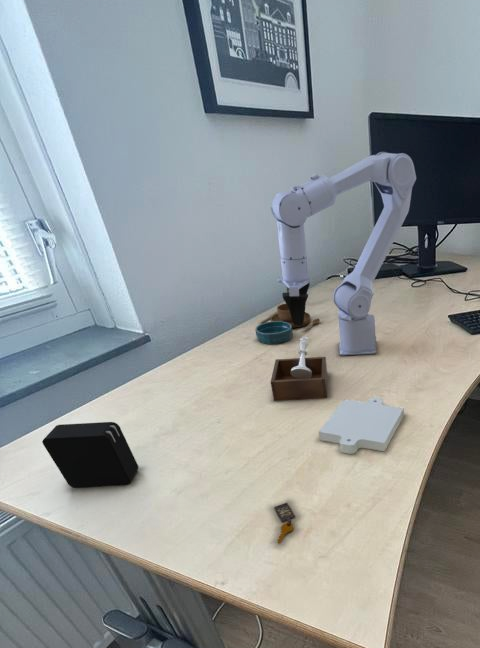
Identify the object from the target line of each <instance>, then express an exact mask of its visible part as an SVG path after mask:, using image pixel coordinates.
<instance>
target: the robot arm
mask: <svg viewBox="0 0 480 648" xmlns="http://www.w3.org/2000/svg"><path fill="white" fill-rule="evenodd" d="M309 177H310V180H307V181H306V182H303V183H301V184H299V185H296V184H293V185H291V186H290V192H288V191H280V192H277V194H276V195H275V196H274V198H273V200H272V203H271V207H270V211H271V213H272V215H273V216H272V217H274V218H275V220H276V225H277V227H276V228H277V239H278V247H279V257H280V266H281V274H282V276H279V277H278V278H277V283H280V284H283V286H285V288H286V290H287V289H288V291H289V293H287V292H282V294H281V295H282V299H283V301H284V302H285V304H287V306H288V308H289V311H290V314H291V318H292V321H293V324H294V325H303V321H304V314H305V312H306V307H307V306H306V304H307V300H308V298H309V294H308V291H309V288H310V284H311V283H310V277H309V271H308V259H307V256H308V255H307V246H306V233H305V222H306V221H307V219H308V218H310V217H311V216H314V215H316V214H317V213H320V212H322V211H324V210H326V209H327V208H330V207H331V206H333V205H334V204H335V203H336V198H337V196H339V195H341V194H343V193H345V192H347V191H350V190H352V189H355V188H357V187H359V186H361V185H363V184H365V183H368V182H372V183H374V185H375V186H376V188H377V190H378V192H379V194H380V196H381V199H382V203H383V209H382V211H381V212H380V215H379V217H378V219H377V221H376V223H375V225H374V228H373V230H372V231H371V233H370V235H369V238H368V239H367V242H366V244H365V246H364V248H363V250H362V252H361V254H360V256H359V258H358V260H357V263H356V264H355V266H354V268H353V271H352V272H349V274H347V275H345V276H344V279H343V281H341V283H340V284H339V285H338V286H336V287H335V289H334V291H333V295H332V299H333V303H334V305H335V306H336V308H338V313H337V316H338V328H339V329H338V330H339V339H340V340H339V341H340V342H339V343H338V346H339V350H338V351H339V356H355V355H356V356H357V355H374V354H377V336H376V320H375V319H376V318H375V315H374V314H369V312H370V310H371V304H372V299H373V297H374V294H375V290H374V281H375V279H376V278H377V275H378V273H379V271H380V269H381V267H382V265H383V263H384V262H385V259H386V257H387V256H388V253H389V252H390V249H391V248H392V245H393V244H394V242H395V240H396V238H397V236H398V234H399V233H400V232H399V231H400V229H401V228H402V226H403V224H404V222H405V220H406V217H407V215H409V212H410V208H411V207H410V206H411V200H412V191H413V187H414V185H415V183H416V180H417V175H416V169H415V165H414V162H413V160H412V158H411V156H410V155H408V154H406V153H404V152H401V153H393V152H392V153H391V152H387V151H380V152H378V153H376V154H372V155H368V156H367V157H365V158H363V159H361V160H360V161H358V162H356V163H355V164H352V165H351V166H349V167H347V168H346V169H343V170H342V171H340V172H338V173H337V174H335V175H333V176H331V177H327V176H326V175H324V174H318V173H313V174H311V175H310V176H309Z"/></svg>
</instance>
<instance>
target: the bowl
mask: <svg viewBox="0 0 480 648" xmlns="http://www.w3.org/2000/svg"><path fill="white" fill-rule="evenodd" d="M254 328H255V329H254V331H255V335H256V339H257V341H258V342H260V343H262V344H265V345H278V344H283V343H286V342H288V341H290V340H292V338H293V336H294V331H293V328H292V325H291V324H290V323H288V322H283V321H272V322H271V321H265V322H263V323H260V324H258V325H256V326H255V327H254Z"/></svg>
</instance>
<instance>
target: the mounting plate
mask: <svg viewBox="0 0 480 648" xmlns="http://www.w3.org/2000/svg"><path fill="white" fill-rule="evenodd" d="M404 412H405V408H404V407H401V406H393V405H385V404H384V400H383V399H382V398H381V397H370V398H368V400H367V401H358V400H352V399H345V398H344V399H343V401H341V403H340V405H339V406H338V407H337V408H336V409H335V411H334V412H333V413H332V414H331V416H329V418H328V419H327V421H325V423H324V424H323V426H322V427H321V428H320V429H319V431H318V436H319V441H322V442H327V443H333V444H339V448H340V452H341V453H343V454H348V455H353V454H355V453H357V451H358V450H359V449H369V450H373V451H379V452H385V451H386V450H387V448H388V446H389V444H390V442H391V440H392V438H393V437H394V435H395V433H396V432H397V429H398V428H399V426H400V424H401V423H402V420H403V418H404V416H405V413H404Z"/></svg>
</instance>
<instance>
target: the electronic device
mask: <svg viewBox="0 0 480 648" xmlns="http://www.w3.org/2000/svg"><path fill="white" fill-rule="evenodd" d="M41 443H42V445H43V447H44V448H45V450H46V451H47V453H48V454H49V457H51V460H52V461H53V462H54V464H55V466H56V467H57V469H58V470H59V472H60V474H61V475H62V477H63V478H64V480H65V482H66V483H67V486H69V487H70V488H74V489H83V488H85V489H86V488H98V487H101V488H103V487H115V486H116V487H117V486H118V487H119V486H128V485H130V483H131V482H132V481H133V479H134V477H135V475H136V473H137V471H138V470H139V464H138V463H137V459H136V458H135V456H134V453H133V452H132V450H131V448H130V445H129V443H128V442H127V439H126V438H125V435H124V432H123V430H122V429H121V426H120V425H119V424H118V423H117V422H114V421H100V422H85V423H83V422H82V423H81V422H80V423H65V424H63V423H62V424H57V425H55V426H54V428H53V429H51V431H50V432H49V433H48V434H46V436H45V437H44V438H43V439H42V441H41Z"/></svg>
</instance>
